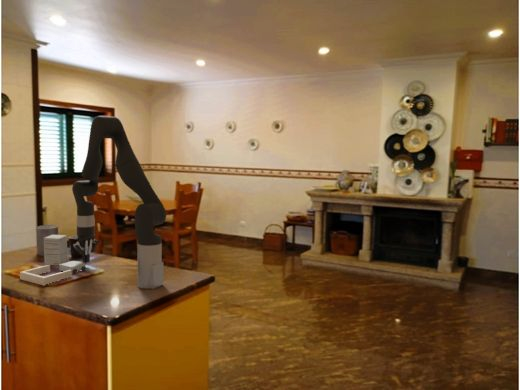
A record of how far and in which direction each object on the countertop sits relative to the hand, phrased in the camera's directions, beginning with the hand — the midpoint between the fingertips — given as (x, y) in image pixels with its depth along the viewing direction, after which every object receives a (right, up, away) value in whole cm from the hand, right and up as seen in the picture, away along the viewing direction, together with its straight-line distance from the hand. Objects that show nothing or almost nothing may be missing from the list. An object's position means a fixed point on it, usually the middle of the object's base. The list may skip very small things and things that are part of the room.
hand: (86, 262), depth 187 cm
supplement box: (-16, -1, +4) cm, 17 cm away
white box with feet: (-3, -3, -6) cm, 8 cm away
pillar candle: (-28, +1, +20) cm, 35 cm away
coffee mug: (-10, 0, +17) cm, 20 cm away
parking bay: (-9, -4, -18) cm, 20 cm away
